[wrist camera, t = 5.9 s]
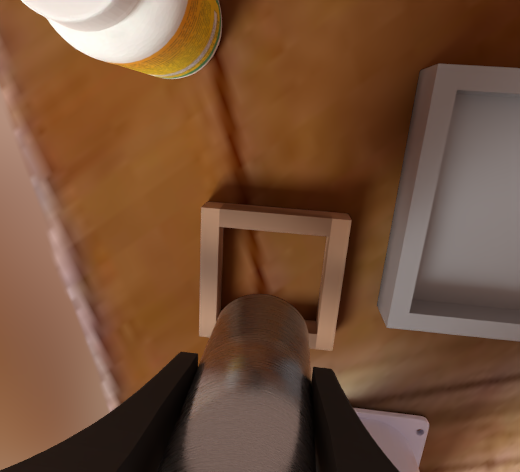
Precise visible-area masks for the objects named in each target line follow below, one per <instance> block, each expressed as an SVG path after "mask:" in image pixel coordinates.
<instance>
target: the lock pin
mask: <svg viewBox="0 0 520 472" xmlns="http://www.w3.org/2000/svg"><path fill="white" fill-rule="evenodd" d="M157 472H316V456H315V438H314V421H313V405H312V387H311V368H310V351H309V335H308V329H307V325H306V323H305V320H304V319H303V317H302V315H301V314H300V313H299V312H298V310H297V309H296V308H294V307H293V306H292V305H291V304H289V303H288V302H286V301H285V300H283V299H280V298H278V297H275V296H272V295H266V294H251V295H246V296H243V297H240V298H238V299H236V300H234V301H232V302H231V303H229V304H228V305H227V306H226V307H225V308H224V309H223V310H222V311H221V313H220V315H219V316H218V319H217V321H216V323H215V326H214V328H213V331H212V333H211V336H210V339H209V341H208V344H207V346H206V349H205V351H204V354H203V356H202V359H201V361H200V364H199V366H198V369H197V371H196V374H195V376H194V379H193V382H192V384H191V387H190V389H189V392H188V394H187V397H186V399H185V402H184V404H183V407H182V409H181V412H180V414H179V417H178V420H177V422H176V425H175V427H174V430H173V432H172V435H171V437H170V440H169V442H168V445H167V447H166V450H165V452H164V455H163V457H162V460H161V463H160V465H159V468H158V470H157Z"/></svg>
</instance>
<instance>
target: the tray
mask: <svg viewBox="0 0 520 472" xmlns="http://www.w3.org/2000/svg"><path fill="white" fill-rule="evenodd" d="M377 306H378V309H379V311H380V313H381V315H382V318H383V320H384V322H385V325H386V327H387V328H396V329H405V330H415V331H424V332H434V333H443V334H453V335H462V336H472V337H481V338H491V339H500V340H510V341H519V342H520V68H509V67H491V66H473V65H455V64H436V65H433V66H431V67H428V68H426V69H423V70H421V71H420V73H419V78H418V84H417V89H416V95H415V100H414V106H413V111H412V117H411V122H410V128H409V133H408V139H407V144H406V150H405V155H404V161H403V166H402V171H401V177H400V182H399V188H398V193H397V199H396V204H395V210H394V215H393V221H392V226H391V232H390V237H389V243H388V248H387V254H386V259H385V265H384V270H383V276H382V281H381V286H380V292H379V297H378V303H377Z"/></svg>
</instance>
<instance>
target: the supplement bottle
mask: <svg viewBox="0 0 520 472" xmlns="http://www.w3.org/2000/svg"><path fill="white" fill-rule="evenodd" d="M21 1H22V2H23V3H24V4H26V5H27V6H28V7H30V8H31V9H32V10H34V11H35V12H37V13H38V14H40V15H42V16H44V17H46V18H47V20H48V21H49V22H50V24H51V25H52V26H53V28H54V29H55V30H56V31H57V32H58V33H59V34H60V35H61V36H62V37H63V38H64V39H65V40H66V41H67V42H68V43H69V44H71V45H72V46H73V47H75V48H76V49H77V50H79V51H81V52H83V53H85V54H86V55H88V56H91V57H93V58H95V59H98V60H101V61H105V62H108V63H112V64H115V65H119V66H122V67H126V68H129V69H133V70H136V71H139V72H142V73H146V74H149V75H153V76H156V77H160V78H165V79H178V78H183V77H187V76H190V75H192V74H194V73H196V72H198V71H199V70H201V69H202V68H203V67H204V66H205V65H206V64H207V63H208V62H209V61H210V60H211V58H212V57H213V55H214V53H215V52H216V49H217V47H218V45H219V42H220V38H221V32H222V15H221V8H220V4H219V0H21Z"/></svg>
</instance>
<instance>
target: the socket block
mask: <svg viewBox="0 0 520 472" xmlns="http://www.w3.org/2000/svg"><path fill="white" fill-rule="evenodd" d="M351 221H352V220H351V218H350V216H349V215H348V213H338V212H326V211H314V210H303V209H291V208H279V207H267V206H256V205H244V204H232V203H220V202H209V201H208V202H206V203H205V204H204V205H203V206H202V207H201V254H200V316H199V336H203V337H210V336H211V333H212V331H213V328H214V326H215V323H216V321H217V319H218V316H219V315H220V313H221V292H222V265H223V237H224V227H227V228H238V229H249V230H260V231H271V232H283V233H294V234H305V235H316V236H327V238H326V246H325V254H324V262H323V270H322V278H321V285H320V293H319V301H318V309H317V317H316V321H312V320H305V323H306V325H307V329H308V335H309V348H311V349H320V350H329V351H332V350H333V344H334V337H335V330H336V323H337V316H338V310H339V303H340V296H341V289H342V282H343V276H344V269H345V262H346V255H347V248H348V241H349V235H350V228H351Z"/></svg>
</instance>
